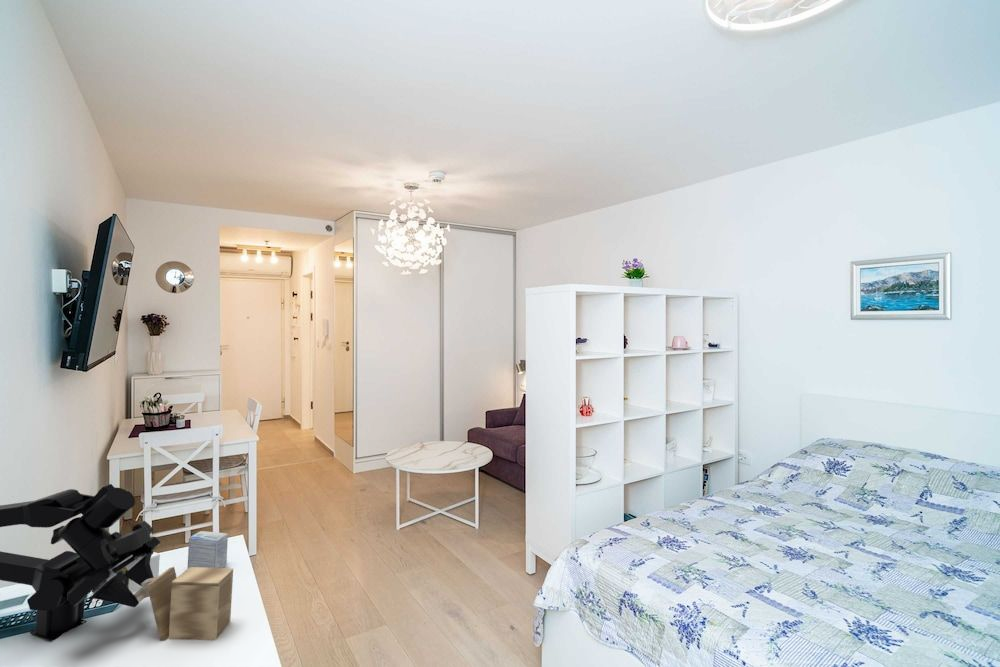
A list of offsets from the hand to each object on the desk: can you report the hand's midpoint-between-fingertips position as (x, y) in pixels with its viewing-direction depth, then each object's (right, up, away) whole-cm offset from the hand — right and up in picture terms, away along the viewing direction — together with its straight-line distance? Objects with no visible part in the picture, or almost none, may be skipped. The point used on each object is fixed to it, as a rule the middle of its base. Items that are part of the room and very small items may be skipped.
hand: (146, 597), depth 99 cm
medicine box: (-4, -7, +26) cm, 28 cm away
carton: (+11, -8, +1) cm, 13 cm away
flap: (+3, -7, 0) cm, 8 cm away
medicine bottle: (-15, -6, +16) cm, 23 cm away
